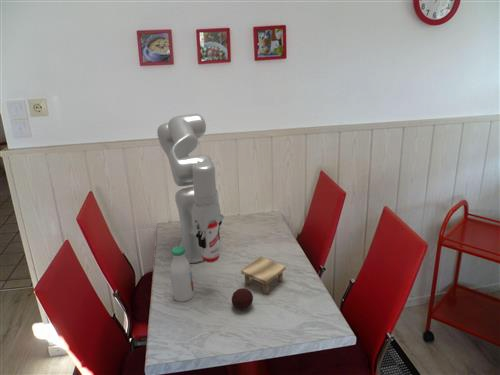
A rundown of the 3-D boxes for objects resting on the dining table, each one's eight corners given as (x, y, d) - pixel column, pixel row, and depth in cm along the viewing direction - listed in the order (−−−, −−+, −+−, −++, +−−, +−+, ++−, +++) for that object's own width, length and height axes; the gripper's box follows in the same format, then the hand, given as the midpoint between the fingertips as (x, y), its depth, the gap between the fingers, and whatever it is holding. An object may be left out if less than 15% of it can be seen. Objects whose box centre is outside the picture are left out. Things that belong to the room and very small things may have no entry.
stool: (241, 284, 157) (241, 270, 155) (261, 270, 166) (260, 256, 163) (266, 296, 150) (266, 281, 147) (285, 280, 158) (285, 266, 156)
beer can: (222, 256, 151) (221, 218, 144) (212, 265, 146) (210, 226, 140) (208, 252, 154) (206, 214, 147) (198, 260, 149) (196, 221, 142)
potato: (257, 307, 144) (256, 290, 142) (240, 317, 140) (239, 300, 137) (244, 297, 150) (243, 281, 147) (227, 306, 145) (226, 290, 143)
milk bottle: (190, 303, 148) (184, 255, 140) (170, 301, 150) (163, 253, 142) (197, 290, 155) (191, 244, 147) (177, 288, 157) (171, 242, 149)
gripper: (215, 186, 148) (218, 230, 156) (179, 204, 136) (184, 250, 144) (230, 192, 144) (233, 236, 151) (194, 210, 132) (199, 257, 139)
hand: (209, 242), depth 147 cm, fingers closed on beer can, 6 cm apart
